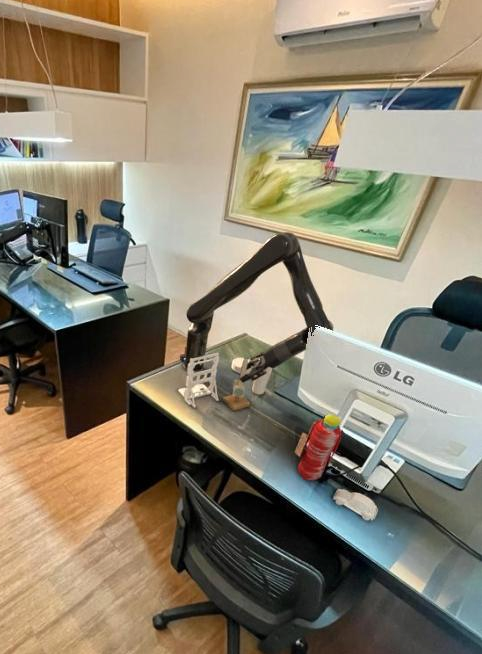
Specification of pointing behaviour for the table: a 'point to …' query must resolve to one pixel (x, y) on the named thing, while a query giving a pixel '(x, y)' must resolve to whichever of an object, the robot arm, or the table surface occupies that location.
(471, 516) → the table surface
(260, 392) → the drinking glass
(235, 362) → the white ribbed cylinder
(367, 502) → the car
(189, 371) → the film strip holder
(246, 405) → the stand
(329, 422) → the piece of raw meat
